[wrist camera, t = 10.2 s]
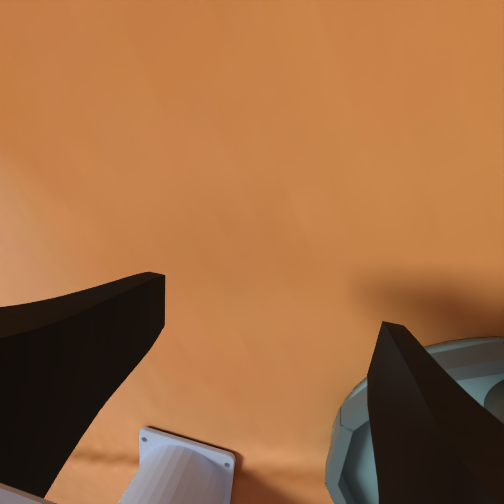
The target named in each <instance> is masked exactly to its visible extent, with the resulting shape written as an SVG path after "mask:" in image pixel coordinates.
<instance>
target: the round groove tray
mask: <svg viewBox="0 0 504 504" xmlns="http://www.w3.org/2000/svg"><path fill="white" fill-rule="evenodd" d="M424 348H425V350H426V351H427V352H428V353H429V354H430V355H431V356H432V357H433V358H434V359H435V360H436V362H437V363H438V364H439V365H440V366H441V367H442V368H443V369H444V370H445V371H446V372H447V373H448V374H449V375H450V376H451V377H452V378H453V379H454V380H455V381H456V382H457V383H458V384H459V385H460V386H461V387H462V388H463V389H464V390H465V391H466V392H467V393H468V394H469V395H471V396H472V397H473V398H474V399H475V400H476V401H477V402H478V403H480V404H481V405H482V406H483V407H484V399H485V397H486V395H487V393H488V391H489V390H490V389H491V388H492V387H493V386H494V385H495V384H497V383H498V382H500V381H501V380H503V379H504V337H481V338H467V339H460V340H453V341H446V342H442V343H438V344H434V345H430V346H426V347H424ZM325 485H326V487H327V489H328V491H329V493H330V496H331V498H332V500H333V502H334V504H379V496H378V484H377V474H376V467H375V459H374V452H373V445H372V437H371V430H370V422H369V414H368V406H367V377H366V378H365V379H364V380H363V381H361V382H360V383H359V384H358V385H357V386H356V387H355V388H354V389H353V391H352V392H351V393H350V394H349V396H348V397H347V398H346V399H345V401H344V403H343V405H341V407H340V410H339V412H338V414H337V417H336V420H335V422H334V425H333V430H332V436H331V445H330V448H329V452H328V456H327V460H326V471H325Z"/></svg>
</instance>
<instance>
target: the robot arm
mask: <svg viewBox="0 0 504 504" xmlns="http://www.w3.org/2000/svg"><path fill="white" fill-rule="evenodd" d="M164 326H165V275H162V274H158V273H153V272H144V273H140V274H136V275H132V276H129V277H126V278H122V279H119V280H116V281H113V282H109V283H106V284H103V285H100V286H96V287H93V288H89V289H86V290H82V291H78V292H75V293H71V294H68V295H64V296H60V297H56V298H51V299H47V300H42V301H37V302H31V303H26V304H20V305H13V306H6V307H0V504H57V503H54V502H51V501H48V500H46V499H44V497H45V495H46V494H47V492H48V490H49V489H50V487H51V485H52V484H53V482H54V480H55V479H56V477H57V475H58V474H59V472H60V470H61V469H62V467H63V466H64V464H65V462H66V461H67V459H68V458H69V456H70V455H71V453H72V451H73V450H74V448H75V447H76V445H77V444H78V442H79V441H80V439H81V437H82V436H83V434H84V433H85V432H86V430H87V429H88V427H89V426H90V424H91V423H92V421H93V420H94V418H95V417H96V415H97V414H98V412H99V411H100V410H101V408H102V407H103V406H104V404H105V403H106V402H107V401H108V399H109V398H110V397H111V396H112V394H113V393H114V392H115V391H116V390H117V389H118V387H119V386H120V385H121V384H122V383H123V381H124V380H125V379H126V378H127V377H128V375H129V374H130V373H131V372H132V371H133V370H134V368H135V367H136V366H137V365H138V364H139V362H140V361H141V360H142V359H143V357H144V356H145V355H146V354H147V353H148V351H149V350H150V349H151V347H152V346H153V344H154V343H155V341H156V339H157V338H158V336H159V334H160V333H161V331H162V329H163V328H164ZM367 406H368V414H369V422H370V430H371V437H372V445H373V452H374V459H375V467H376V474H377V484H378V496H379V504H504V424H503V423H502V422H501V421H500V420H499V419H497V418H496V417H495V416H494V415H493V414H491V413H490V412H489V411H488V410H487V409H485V408H484V407H483V406H482V405H481V404H480V403H478V402H477V401H476V400H475V399H474V398H473V397H472V396H471V395H469V394H468V393H467V392H466V391H465V390H464V389H463V388H462V387H461V386H460V385H459V384H458V383H457V382H456V381H455V380H454V379H453V378H452V377H451V376H450V375H449V374H448V373H447V372H446V371H445V370H444V369H443V368H442V367H441V366H440V365H439V364H438V363H437V362H436V360H435V359H434V358H433V357H432V356H431V355H430V354H429V353H428V352H427V351H426V350H425V348H424V347H423V346H422V345H421V344H420V343H419V342H418V341H417V339H416V338H415V337H414V336H413V335H412V334H411V333H410V332H409V331H408V329H407V328H406V327H405V326H403V325H399V324H394V323H389V322H385V321H382V325H381V328H380V332H379V335H378V339H377V342H376V346H375V349H374V353H373V356H372V360H371V363H370V367H369V370H368V374H367ZM139 449H140V467H139V469H138V470H137V472H136V474H135V475H134V477H133V479H132V480H131V482H130V484H129V485H128V487H127V489H126V491H125V492H124V494H123V496H122V497H121V499H120V501H119V502H118V504H230V501H231V492H232V484H233V476H234V468H235V459H236V458H235V455H234V454H233V453H231V452H228V451H225V450H221V449H218V448H215V447H211V446H208V445H205V444H202V443H198V442H195V441H192V440H188V439H185V438H182V437H178V436H175V435H172V434H168V433H165V432H162V431H158V430H155V429H152V428H148V427H142V428H141V430H140V431H139Z"/></svg>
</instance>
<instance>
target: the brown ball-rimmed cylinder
mask: <svg viewBox="0 0 504 504" xmlns="http://www.w3.org/2000/svg"><path fill="white" fill-rule="evenodd" d="M484 408H485V409H487V410H488V411H489V412H490V413H491V414H493V415H494V416H495V417H496V418H497V419H499V420H500V421H501V422H502V423H503V424H504V379H503V380H501V381H500V382H498V383H497V384H495V385H494V386H493V387H492V388H491V389H490V390H489V391H488V393H487V395H486V397H485V399H484Z"/></svg>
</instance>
